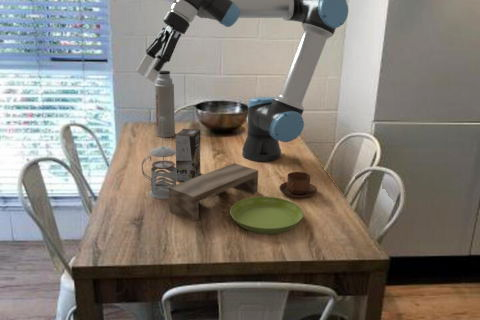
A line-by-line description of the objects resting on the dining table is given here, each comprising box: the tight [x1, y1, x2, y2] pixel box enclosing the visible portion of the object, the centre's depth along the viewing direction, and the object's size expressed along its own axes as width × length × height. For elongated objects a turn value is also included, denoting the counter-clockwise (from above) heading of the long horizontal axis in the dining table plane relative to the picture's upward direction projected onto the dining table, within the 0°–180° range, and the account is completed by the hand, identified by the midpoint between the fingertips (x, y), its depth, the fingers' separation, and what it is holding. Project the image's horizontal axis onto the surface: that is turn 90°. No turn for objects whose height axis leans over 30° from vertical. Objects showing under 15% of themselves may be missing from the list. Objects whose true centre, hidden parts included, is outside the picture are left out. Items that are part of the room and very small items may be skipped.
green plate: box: [229, 196, 304, 235], centre depth 143 cm, size 21×21×3 cm
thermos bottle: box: [154, 70, 176, 138], centre depth 218 cm, size 8×8×28 cm
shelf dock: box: [168, 162, 259, 222], centre depth 154 cm, size 10×29×8 cm, turn 140°
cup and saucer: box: [279, 171, 318, 199], centre depth 162 cm, size 12×12×6 cm
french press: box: [141, 117, 177, 200], centre depth 156 cm, size 10×12×25 cm
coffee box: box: [175, 128, 201, 182], centre depth 172 cm, size 9×6×16 cm
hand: (144, 76), depth 155 cm, fingers open, 13 cm apart
